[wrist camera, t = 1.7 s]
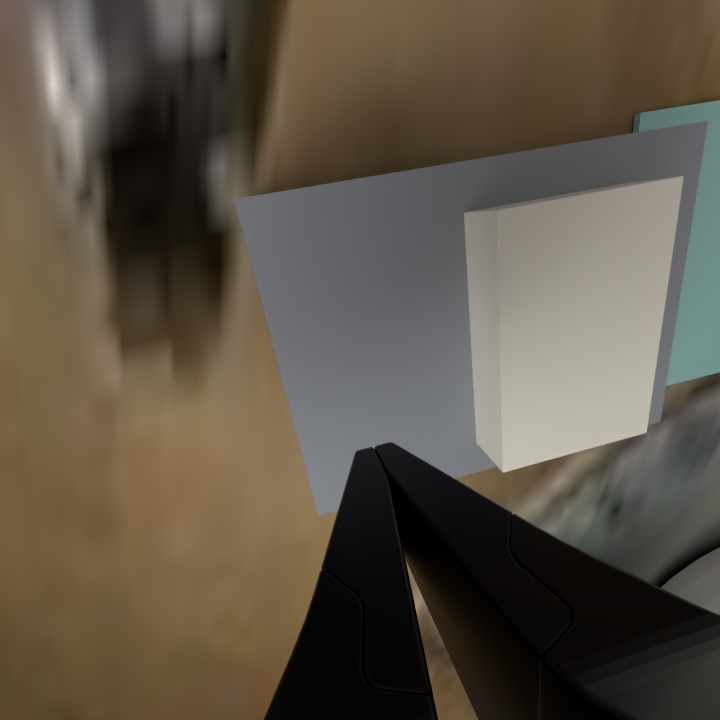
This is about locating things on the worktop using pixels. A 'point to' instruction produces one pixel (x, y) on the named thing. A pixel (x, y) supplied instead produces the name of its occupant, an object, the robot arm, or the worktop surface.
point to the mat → (697, 251)
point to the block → (567, 317)
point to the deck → (418, 292)
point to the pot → (699, 582)
